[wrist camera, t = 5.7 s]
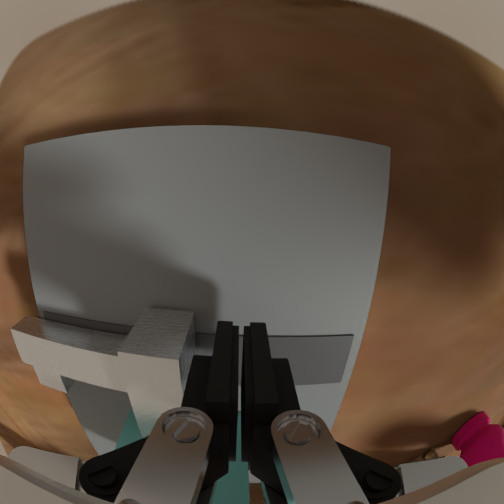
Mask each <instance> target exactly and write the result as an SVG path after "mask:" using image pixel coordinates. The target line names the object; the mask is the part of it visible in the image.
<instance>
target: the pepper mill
mask: <svg viewBox="0 0 504 504" xmlns="http://www.w3.org/2000/svg"><path fill="white" fill-rule="evenodd" d="M489 423H490V418H489V417H488V416H487V414H486V413H485V412H481V413H479V414H477V415H475V416H474V417H473V418H471V419H470V420H469V421H468V422H466V423H465V424H464V425H463V426H462V427H461V428H460V429H459V431H458V432H457V433H456V434H455V435H454V437H453V439H452V445H453V446H454V448H455V449H456V450H457V451H459V450H461V454H460V458H462V459H463V460H464V461H465V462H466V464H467V465H468V467H470V466H473V465H475V464H478V463H481V462H484V461H488V460H492V459H497V458H503V457H504V430H503V429H502V427H501V426H500V425H497V424H489Z"/></svg>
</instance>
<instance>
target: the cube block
mask: <svg viewBox="0 0 504 504" xmlns="http://www.w3.org/2000/svg"><path fill="white" fill-rule="evenodd" d="M139 439H142V435H141V432H140V429H139V427H138V424H137V421H136V418H135V415H134V412H133V409H132V407H131V409H130V412H129V414H128V417H127V419H126V422H125V424H124V426H123V429H122V431H121V434H120V436H119V439H118V441H117V444H116V447H115V449H118V448H120V447H123V446H125V445H128V444H130V443H132V442H135V441H137V440H139ZM115 449H114V450H115ZM212 504H250V494H249V470H248V462H241V412H238V423H237V446H236V462H230V461H229V470H228V473H227V474H226V475H224V476H223V477H221V478H220V479H218V480H217V486H216V489H215V493H214V497H213V501H212Z"/></svg>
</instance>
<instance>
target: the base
mask: <svg viewBox="0 0 504 504" xmlns="http://www.w3.org/2000/svg"><path fill="white" fill-rule="evenodd" d="M390 156H391V147H389V146H385V145H380V144H376V143H371V142H366V141H361V140H356V139H350V138H345V137H339V136H332V135H326V134H319V133H312V132H304V131H295V130H286V129H275V128H263V127H247V126H223V125H180V126H155V127H140V128H128V129H118V130H109V131H101V132H94V133H87V134H80V135H74V136H68V137H63V138H58V139H53V140H48V141H43V142H39V143H34V144H30V145H26V146H25V148H24V163H23V212H24V228H25V239H26V248H27V256H28V263H29V269H30V275H31V281H32V286H33V291H34V295H35V300H36V304H37V309H38V313H39V316H40V319H45V320H49V321H53V322H57V323H62V324H67V325H71V326H76V327H81V328H86V329H92V330H97V331H103V332H109V333H115V334H122V335H128V334H129V333H130V331H131V330H132V328H133V327H134V325H135V324H136V322H137V321H138V319H139V318H140V316H141V315H142V313H143V312H144V310H145V309H146V308H147V307H148V308H158V309H169V310H181V311H195V337H196V355H204V356H212V354H213V347H214V341H215V334H216V328H217V322H218V321H233V325H235V326H239V377H238V412H241V370H242V351H243V332H244V326H250V322H263V323H266V328H267V334H268V340H269V346H270V352H271V358H287V359H288V361H289V364H290V368H291V372H292V376H293V381H294V385H295V389H296V393H297V397H298V401H299V405H300V409H301V410H304V411H309V412H311V413H314V414H316V415H317V416H319V417H320V418H322V420H323V421H324V422H325V423H326V425H327V427H328V429H329V431H331V428H332V426H333V423H334V421H335V418H336V416H337V413H338V410H339V408H340V405H341V402H342V400H343V397H344V394H345V391H346V388H347V385H348V383H349V380H350V377H351V373H352V370H353V367H354V364H355V361H356V357H357V354H358V351H359V347H360V344H361V340H362V336H363V333H364V329H365V325H366V321H367V317H368V313H369V309H370V304H371V300H372V295H373V291H374V286H375V281H376V276H377V270H378V265H379V259H380V253H381V247H382V240H383V233H384V226H385V218H386V209H387V199H388V188H389V175H390ZM74 381H75V383H74V384H73V386H72V387H71V389H70V390H69V391H68V393H66V394H67V396H68V399H69V401H70V403H71V405H72V407H73V409H74V411H75V413H76V415H77V417H78V419H79V421H80V423H81V425H82V427H83V429H84V431H85V433H86V434H87V436H88V438H89V440H90V441H91V443H92V445H93V447H94V448H95V450H96V452H97V453H98V455H99V456H100V455H102V454H105V453H108V452H110V451H113V450H114V449H115V447H116V444H117V441H118V439H119V436H120V434H121V431H122V429H123V426H124V424H125V422H126V419H127V417H128V414H129V412H130V409H131V407H132V406H131V402H130V399H129V396H128V392H123V391H118V390H114V389H109V388H105V387H101V386H97V385H93V384H89V383H85V382H82V381H78V380H75V379H74ZM249 483H261V480H259V479H258V478H256V477H255V476H253V475H252V474H251V473H250V470H249Z"/></svg>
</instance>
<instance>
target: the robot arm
mask: <svg viewBox="0 0 504 504" xmlns="http://www.w3.org/2000/svg"><path fill="white" fill-rule="evenodd" d="M238 377H239V326H235V325H233V321H218V322H217V328H216V334H215V341H214V347H213V354H212V356H204V355H193V358H192V362H191V366H190V370H189V374H188V378H187V382H186V386H185V391H184V395H183V399H182V403H181V407H176V408H173V409H170V410H167V411H166V412H164V413H163V414H161V416H160V417H159V418H158V419H157V421H156V423H155V425H154V427H153V429H152V431H151V433H150V435H148V436H146V437H144V438H142V439H139V440H137V441H135V442H132V443H130V444H128V445H125V446H123V447H120V448H118V449H115V450H113V451H110V452H108V453H105V454H102V455H100V456H97V457H94V458H92V459H90V460H88V461H81V460H80V459H79V457H73V456H67V455H62V454H57V453H53V452H48V451H44V450H40V449H36V448H32V447H28V446H19V447H16V448H15V449H13V450H12V451H11V453H10V455H9V457H8V458H7V457H5V456H2V455H0V504H212V501H213V497H214V493H215V489H216V486H217V480H218V479H220V478H221V477H223V476H224V475H226V474H227V473H228V470H229V461H230V462H236V446H237V423H238ZM241 462H248V470H250V473H251V474H252V475H253V476H255V477H256V478H258V479H259V480H261V488H262V491H263V495H264V498H265V502H266V504H504V457H503V458H497V459H492V460H488V461H484V462H481V463H478V464H475V465H473V466H470V467H468V465H467V464H466V462H465V461H464V460H463V459H462V458H460V457H457V456H448V457H443V458H438V459H433V460H427V461H421V462H414V463H406V464H400V465H399V467H395V468H394V467H392V466H390V465H388V464H386V463H384V462H381V461H379V460H376V459H374V458H371V457H369V456H367V455H364V454H362V453H360V452H358V451H355V450H353V449H351V448H349V447H347V446H345V445H342V444H340V443H338V442H336V441H335V440H334V438H333V436H332V434H331V433H330V431H329V429H328V427H327V425H326V423H325V422H324V421H323V420H322V418H320V417H319V416H317V415H316V414H314V413H311V412H309V411H304V410H301V409H300V405H299V401H298V397H297V393H296V389H295V385H294V381H293V376H292V372H291V368H290V364H289V361H288V359H287V358H271V352H270V346H269V340H268V334H267V328H266V323H263V322H250V326H244V332H243V351H242V370H241Z"/></svg>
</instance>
